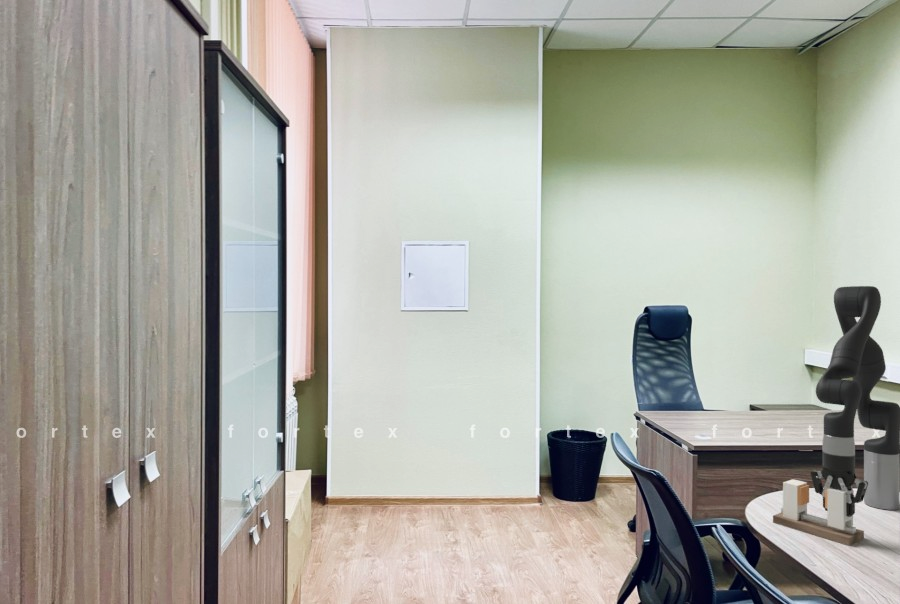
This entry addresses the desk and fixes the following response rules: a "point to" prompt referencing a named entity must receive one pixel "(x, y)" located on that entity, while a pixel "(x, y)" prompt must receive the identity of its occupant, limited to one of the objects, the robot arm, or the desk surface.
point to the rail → (819, 530)
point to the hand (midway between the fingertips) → (838, 512)
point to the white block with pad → (837, 509)
